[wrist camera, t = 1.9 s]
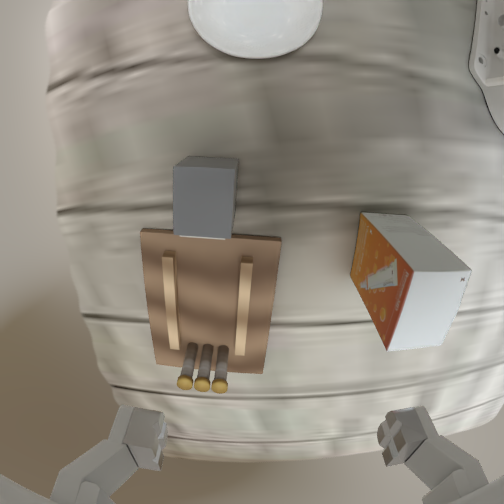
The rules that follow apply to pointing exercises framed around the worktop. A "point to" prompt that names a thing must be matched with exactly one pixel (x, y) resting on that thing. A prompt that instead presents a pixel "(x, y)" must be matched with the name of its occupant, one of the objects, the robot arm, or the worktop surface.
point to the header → (209, 303)
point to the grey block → (204, 197)
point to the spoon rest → (255, 25)
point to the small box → (407, 281)
